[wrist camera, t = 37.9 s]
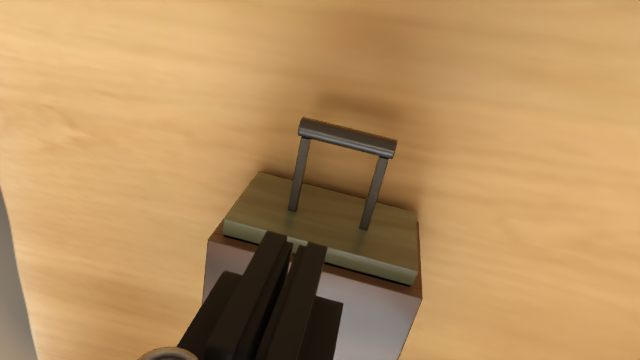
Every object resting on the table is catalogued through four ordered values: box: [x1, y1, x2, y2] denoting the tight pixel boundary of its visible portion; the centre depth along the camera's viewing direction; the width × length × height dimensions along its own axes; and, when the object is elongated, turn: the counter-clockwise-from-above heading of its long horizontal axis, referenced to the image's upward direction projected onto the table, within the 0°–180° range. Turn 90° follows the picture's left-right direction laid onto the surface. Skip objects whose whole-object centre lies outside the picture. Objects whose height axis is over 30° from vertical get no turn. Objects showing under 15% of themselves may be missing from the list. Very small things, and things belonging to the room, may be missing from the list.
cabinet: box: [202, 180, 422, 360], centre depth 34 cm, size 16×14×9 cm
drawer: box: [223, 117, 418, 286], centre depth 32 cm, size 21×12×7 cm, turn 169°
